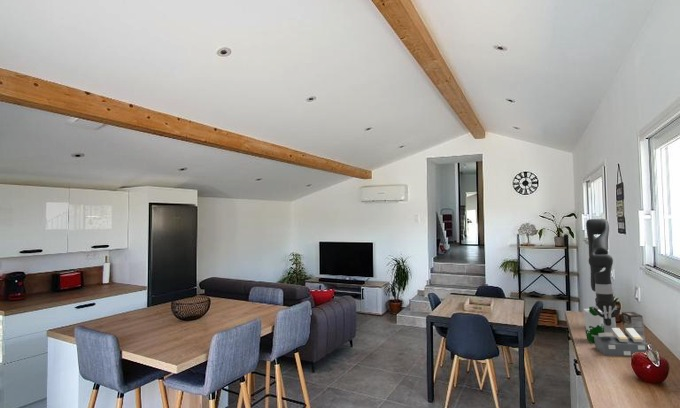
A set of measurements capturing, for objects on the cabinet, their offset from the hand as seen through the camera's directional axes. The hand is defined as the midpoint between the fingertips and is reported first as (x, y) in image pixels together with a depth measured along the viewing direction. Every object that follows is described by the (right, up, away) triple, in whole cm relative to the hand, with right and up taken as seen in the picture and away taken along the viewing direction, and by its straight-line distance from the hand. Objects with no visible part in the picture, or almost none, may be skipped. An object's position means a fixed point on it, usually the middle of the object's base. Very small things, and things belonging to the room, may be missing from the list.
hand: (607, 325), depth 195 cm
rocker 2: (+8, -6, +2) cm, 10 cm away
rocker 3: (+14, -5, +1) cm, 15 cm away
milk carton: (+7, -16, +20) cm, 26 cm away
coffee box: (+25, -14, +14) cm, 32 cm away
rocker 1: (+2, -6, +4) cm, 8 cm away
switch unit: (+8, -15, +2) cm, 17 cm away
